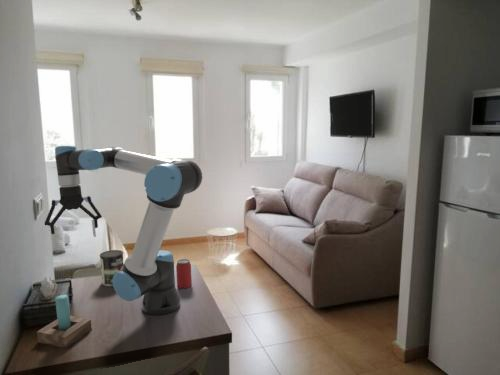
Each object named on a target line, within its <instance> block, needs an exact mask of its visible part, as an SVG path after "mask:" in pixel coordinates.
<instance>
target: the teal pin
mask: <svg viewBox="0 0 500 375" xmlns="http://www.w3.org/2000/svg"><path fill="white" fill-rule="evenodd" d="M54 301H55V310H56V317H57V319H58V329H59V330H61V331H66V330H67V329H69V328H70V327H71V320H70V316H71V312H70V299H69V295H68V294H61V295H57V296H56V297H55V300H54ZM57 319H56V320H57Z"/></svg>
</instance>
